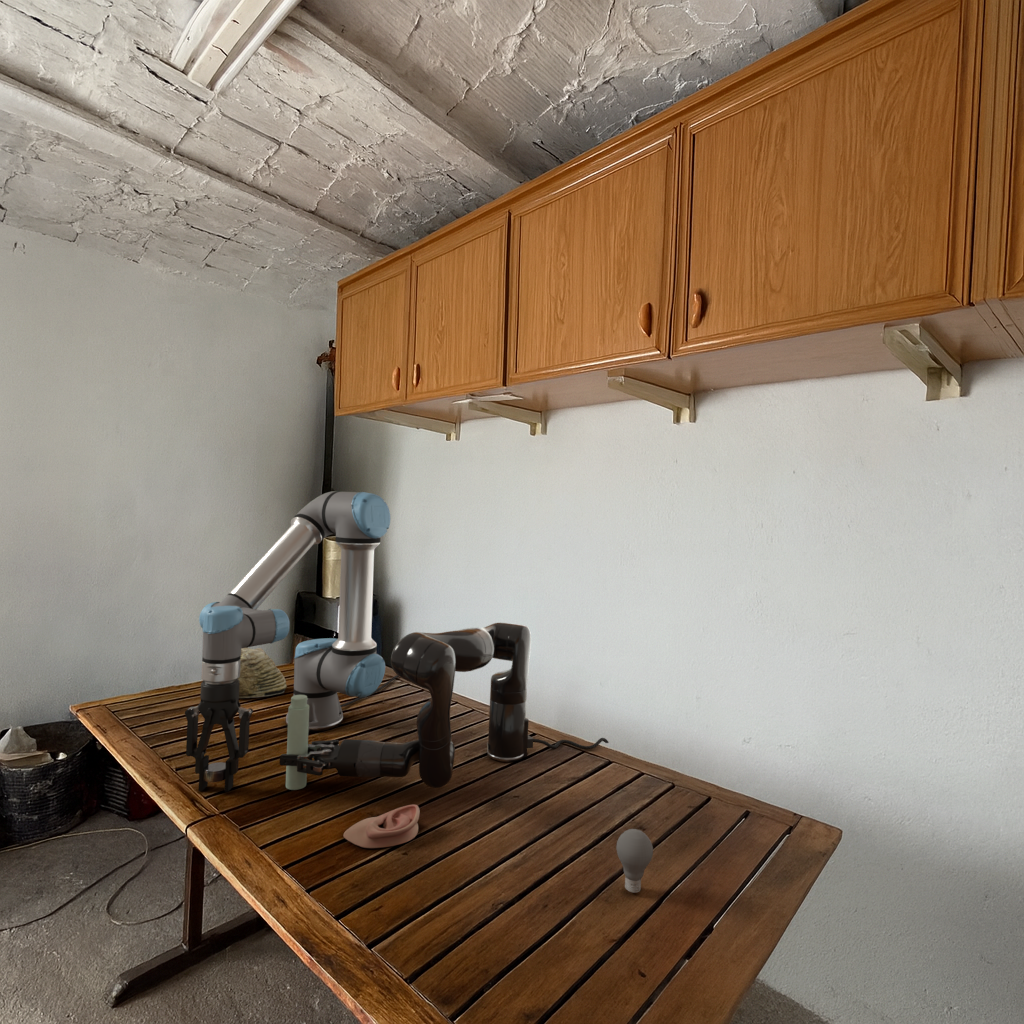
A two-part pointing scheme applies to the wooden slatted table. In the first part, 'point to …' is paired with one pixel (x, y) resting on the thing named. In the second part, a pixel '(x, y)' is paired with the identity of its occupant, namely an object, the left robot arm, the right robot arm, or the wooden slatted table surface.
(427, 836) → the wooden slatted table surface
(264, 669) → the fossil
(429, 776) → the right robot arm
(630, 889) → the light bulb
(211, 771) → the lid
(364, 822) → the anatomical model
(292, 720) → the pale green tube
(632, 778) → the wooden slatted table surface
